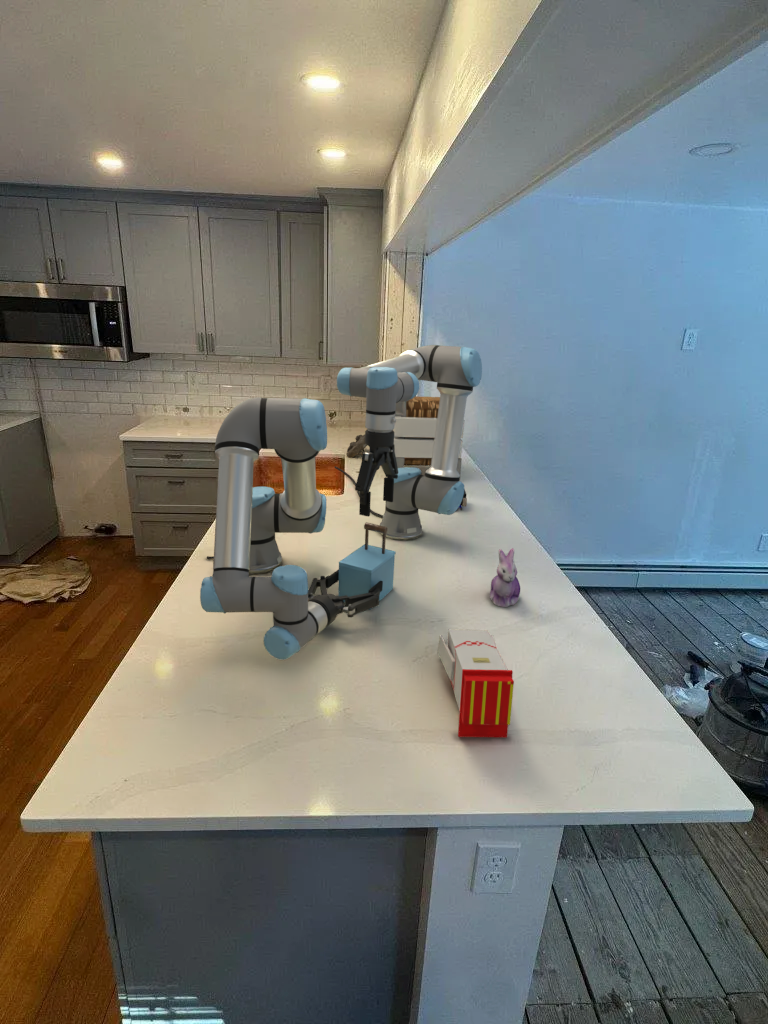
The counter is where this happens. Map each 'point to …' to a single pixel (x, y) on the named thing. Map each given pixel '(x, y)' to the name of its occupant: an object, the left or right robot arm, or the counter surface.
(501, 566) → the figurine
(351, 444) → the fossil
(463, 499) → the figurine character
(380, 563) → the lid
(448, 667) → the toy
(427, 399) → the white wooden crate
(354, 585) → the chest
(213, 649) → the counter surface
